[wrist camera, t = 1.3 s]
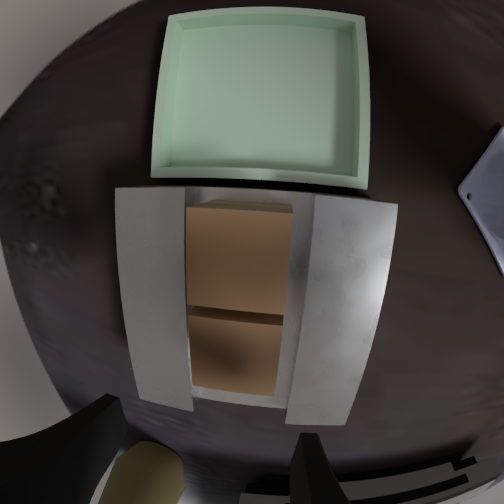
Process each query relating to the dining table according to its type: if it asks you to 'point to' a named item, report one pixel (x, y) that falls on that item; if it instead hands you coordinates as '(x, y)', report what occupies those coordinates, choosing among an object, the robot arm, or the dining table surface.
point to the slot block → (297, 297)
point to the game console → (396, 483)
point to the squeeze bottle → (145, 476)
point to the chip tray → (264, 97)
